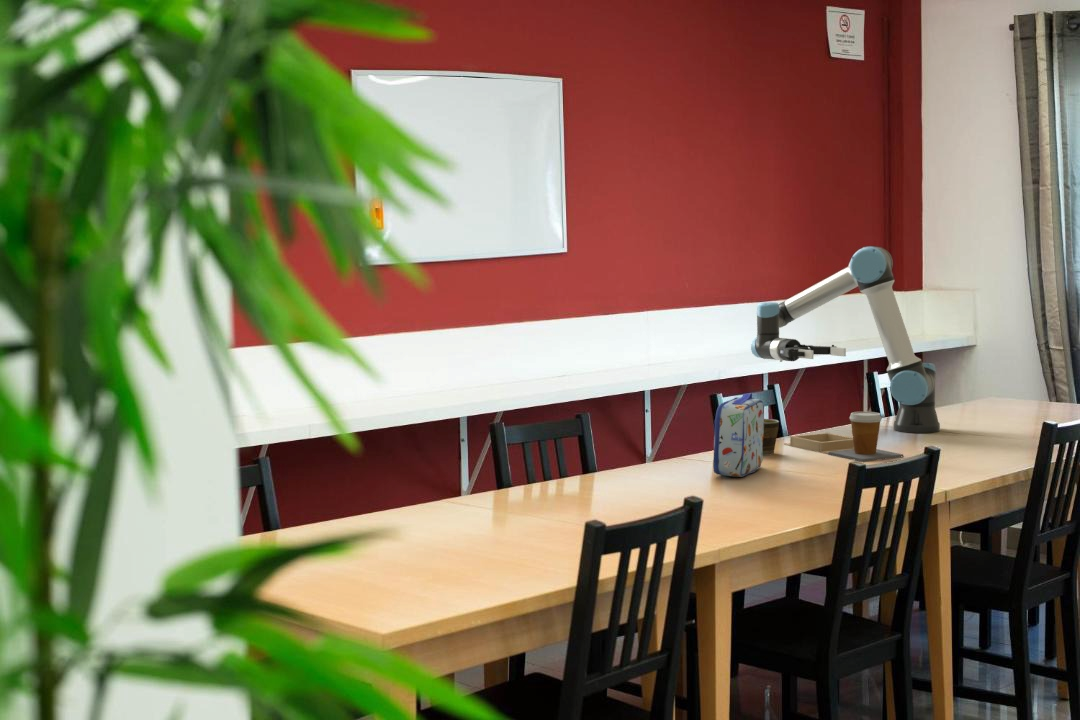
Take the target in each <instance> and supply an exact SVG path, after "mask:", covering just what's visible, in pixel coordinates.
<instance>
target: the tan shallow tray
mask: <svg viewBox="0 0 1080 720" xmlns="http://www.w3.org/2000/svg"><path fill="white" fill-rule="evenodd" d="M789 441H790V442H785V443H784V444H783V445H785V446H789V447H794V448H799V449H803V450H806V451H807V450H808V451H812V452H818V453H822V454H825V455H826V454H827V455H828V452H832V451H841V450H851V449H854V444H853V436H852V437H850V436H846V435H841V434H835V433H831V432H823V433H822V432H821V433H812V434H802V435H800V434H799V435H792V436H791V435H790V438H789Z"/></svg>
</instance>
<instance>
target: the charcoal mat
mask: <svg viewBox="0 0 1080 720" xmlns="http://www.w3.org/2000/svg"><path fill="white" fill-rule="evenodd" d="M827 455H829V456H834V457H839V458H843V459H847V460H851V459H855V460H854V461H857V462H861V463H864V462H870V461H871V462H872V461H878V460H877V459H882V460H886V459H885V458H891V459H896V458H895V457H900V458H902V457H901V456H903V457H904V454H903V453H898V452H892V451H888V450H884V449H878V448H876V453H875V454H870V455H863V454H856V453H854V449H851V450H841V451H832V452H828V454H827Z"/></svg>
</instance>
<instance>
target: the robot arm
mask: <svg viewBox="0 0 1080 720" xmlns="http://www.w3.org/2000/svg"><path fill="white" fill-rule="evenodd" d="M893 262H894V261H893V258H892V255H891V253H890V251H888V250H886V249H885V248H883V247H881V246H871V245H869V246H863V247H862V248H860V249H858V250H857V251H855V253H854V254H853V255H852V257H851V259H850V261H849V263H848V266H846V267H844V268H843V269H841V270H839V271H837V272H835V273H834V274H832V275H830V276H828V277H826V278H825V279H822V280H821V281H818V282H817V283H815V284H813V285H812V286H809V287H808V288H806V289H805V290H802V291H801V292H799V293H796V294H795V295H793V296H790V298H788V299H786V300H784V301H782V302H780V303H778V302H776V301H775V302H772V301H771V302H770V301H769V302H759V303H758V304H757V306H756V328H757V329H756V331H757V332H756V333H757V334H756V337H754V338H753V339H752V341H751V344H750V351H751V352H752V354H753V356H754V357H756V358H759V359H760V358H761V359H764V360H775V361H779V363H782V362H783V361H784V362H785V361H786V362H796V361H798V360H799V359H808V360H814V355H830V356H837V357H846V356H847V355H846V354H847V353H846V352H847V348H846V347H838V346H837V345H836V346H835V345H834V344H831V346H827V345H826V346H821V345H819V346H818V345H807V344H802V343H801V342H800V341H799V340H798V339H796V338H785V337H780V328H783V327H785V326H787V325H788V324H789V323H792V322H793V321H795V320H796V319H799V318H800V317H802V316H804V315H806V314H808V313H810V312H811V311H812V312H813V311H814V310H815V309H817V308H819V307H821V306H824V305H826V304H828V303H829V302H831V301H834V300H835V299H836V298H838V297H841V296H842V295H845V294H846V293H848V292H850V291H851V290H853V289H855V288H857V287H858V289H859V292H860V293H861V294H864V295H865V296H866V298H867V301H868V304H869V307H870V310H871V313H872V316H873V319H874V323H875V324H876V328H877V330H878V334H879V337H880V340H881V343H882V347H883V348H884V352H885V355H886V358H887V360H888V366H887V368H886V373H887V375H888V379H889V382H890V383H889V384H890V385H889V388H890V389H889V390H890V393H891V395H892V397H893V398H894V400H896V401H897V402H898V410H897V414H896V418H895V420H894V421H893V430H894V431H896V432H904V433H914V434H925V433H926V434H928V433H931V434H932V433H937V432H939V431H941V424H940V421H939V419H938V418H939V417H938V414H937V411H936V374H937V370H936V365H935V364H934V363H932V362H931V363H930V362H923V361H922V359H921V358H920V357H918V356H916V355H915V351H914V349H913V345H912V343H911V340H910V337H909V334H908V331H907V329H906V328H907V327H906V326H905V323H904V319H903V316H902V313H901V310H900V307H899V304H898V301H897V299H896V295H895V292H894V290H893V285H894V283H895V278H894V274H893V271H892V269H893V267H894V266H893V265H894V263H893Z"/></svg>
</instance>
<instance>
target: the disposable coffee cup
mask: <svg viewBox="0 0 1080 720" xmlns="http://www.w3.org/2000/svg"><path fill="white" fill-rule="evenodd" d="M882 419H883V417H882V416H881V413H880V412H875V411H854V412H851V413H850V416H849V421H850V424H851V425H850V426H851V434H852V438H853V444H854V453H856V454H863V455H870V454H875V453H876V449H878V447H877V446H878V440H879V434H880V433H879V432H880V426H881V421H882Z"/></svg>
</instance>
